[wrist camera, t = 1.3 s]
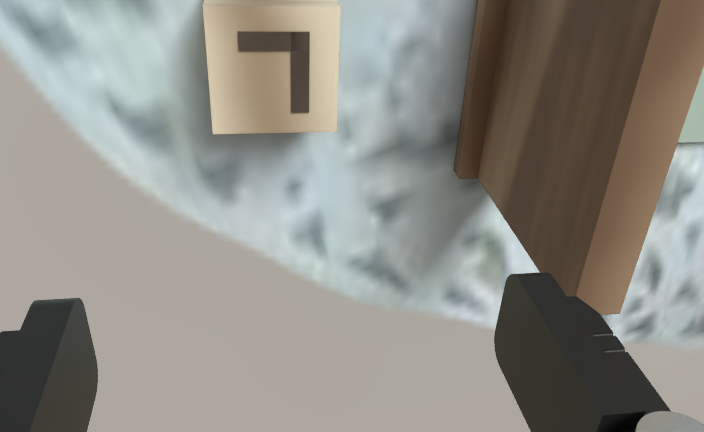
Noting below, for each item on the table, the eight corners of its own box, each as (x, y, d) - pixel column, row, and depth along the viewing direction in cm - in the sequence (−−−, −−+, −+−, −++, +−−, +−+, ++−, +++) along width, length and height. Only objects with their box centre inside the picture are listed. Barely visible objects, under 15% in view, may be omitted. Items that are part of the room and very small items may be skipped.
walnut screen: (586, -128, 27) (793, -99, 17) (525, 167, 34) (644, 311, 24) (496, -131, 26) (654, -103, 16) (453, 169, 34) (544, 318, 23)
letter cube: (325, -21, 28) (341, 7, 23) (323, 88, 30) (336, 132, 26) (209, -23, 27) (202, 6, 23) (217, 90, 30) (212, 135, 25)
